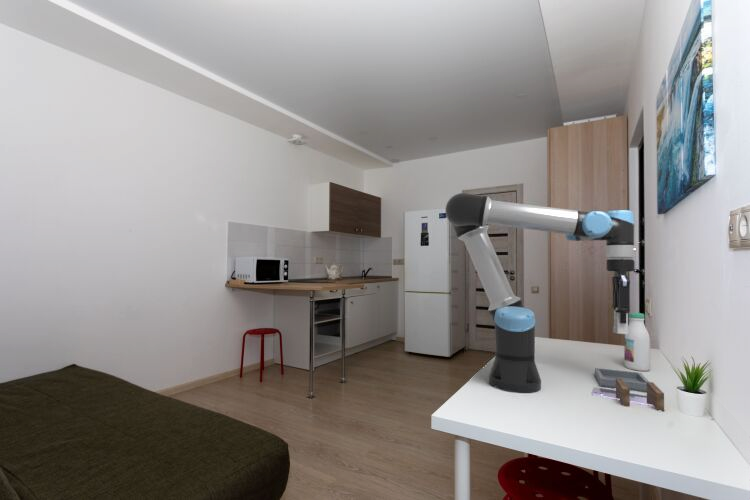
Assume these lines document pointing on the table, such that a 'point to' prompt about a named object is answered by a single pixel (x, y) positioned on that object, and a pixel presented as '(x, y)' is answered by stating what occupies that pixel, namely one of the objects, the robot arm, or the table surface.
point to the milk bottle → (637, 344)
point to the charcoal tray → (631, 379)
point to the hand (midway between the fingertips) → (620, 332)
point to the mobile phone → (612, 394)
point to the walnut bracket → (652, 393)
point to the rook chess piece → (616, 323)
